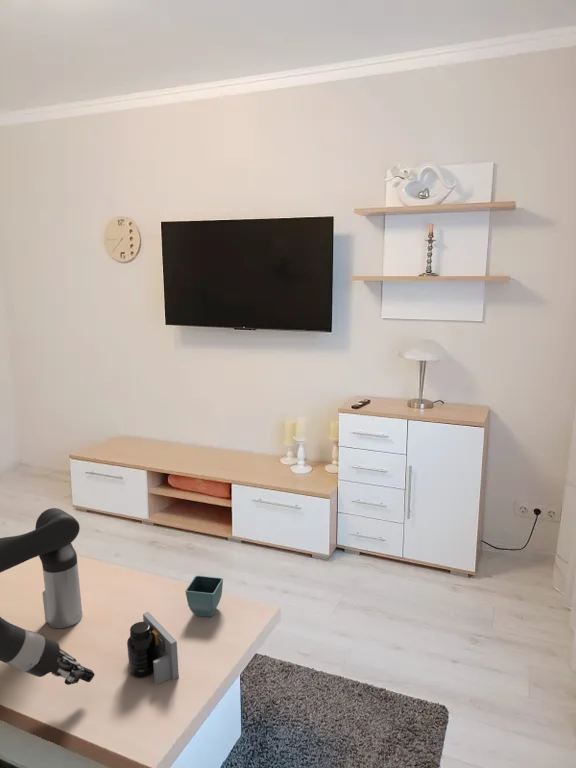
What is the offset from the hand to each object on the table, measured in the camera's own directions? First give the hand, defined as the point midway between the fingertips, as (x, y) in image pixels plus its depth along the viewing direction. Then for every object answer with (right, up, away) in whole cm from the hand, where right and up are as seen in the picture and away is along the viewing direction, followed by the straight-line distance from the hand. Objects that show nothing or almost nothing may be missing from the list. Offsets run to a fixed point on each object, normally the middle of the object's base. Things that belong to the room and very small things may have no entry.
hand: (91, 676), depth 134 cm
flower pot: (+22, +2, +33) cm, 40 cm away
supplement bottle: (+10, -3, +9) cm, 14 cm away
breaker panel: (+12, -3, +11) cm, 16 cm away
